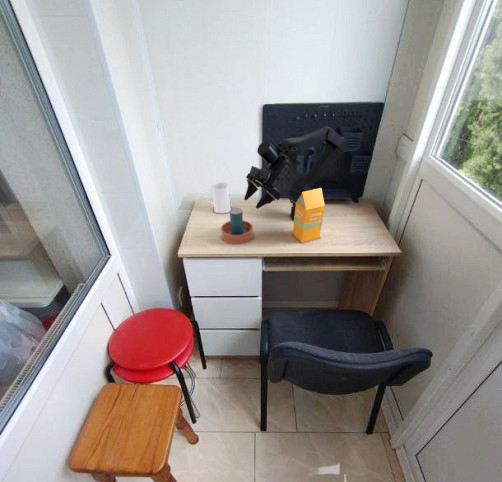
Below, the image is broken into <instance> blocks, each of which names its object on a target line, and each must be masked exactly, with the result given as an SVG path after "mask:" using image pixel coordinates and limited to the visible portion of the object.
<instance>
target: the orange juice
mask: <svg viewBox="0 0 502 482" xmlns="http://www.w3.org/2000/svg"><path fill="white" fill-rule="evenodd" d="M325 207H326V204H325V199H324V195H323V189H322V187H319V188H313V189H310V190H309V191H304V192H302V194H301V195H300V197H299V198H298V200H297V201H296V205H295V216H294V220H293V225H292V226H293V229H292V235H293V236H294V237H295V238H296V239H297V240H298V241H299V242H300V243H305V242H309V241H313V240H317V239H319V238H320V235H321V229H322V225H323V218H324V212H325Z"/></svg>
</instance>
